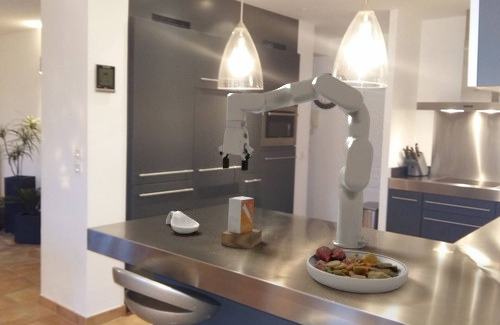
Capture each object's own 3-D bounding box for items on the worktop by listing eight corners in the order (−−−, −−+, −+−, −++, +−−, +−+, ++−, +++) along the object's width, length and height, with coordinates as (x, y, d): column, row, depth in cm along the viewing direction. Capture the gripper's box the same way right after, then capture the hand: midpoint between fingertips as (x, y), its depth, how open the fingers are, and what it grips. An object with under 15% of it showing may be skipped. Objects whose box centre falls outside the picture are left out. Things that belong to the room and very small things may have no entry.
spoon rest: (203, 234, 195) (203, 217, 194) (177, 237, 189) (177, 219, 188) (181, 223, 215) (182, 208, 215) (157, 225, 209) (157, 209, 209)
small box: (240, 234, 176) (241, 200, 175) (227, 231, 180) (228, 198, 179) (253, 231, 182) (254, 197, 181) (240, 228, 186) (241, 196, 185)
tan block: (261, 242, 185) (261, 230, 184) (250, 249, 173) (251, 236, 173) (233, 239, 189) (233, 227, 188) (221, 246, 178) (221, 233, 177)
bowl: (423, 280, 143) (425, 255, 143) (378, 306, 121) (380, 276, 120) (338, 259, 163) (339, 237, 163) (286, 278, 141) (287, 253, 140)
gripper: (259, 126, 178) (258, 170, 180) (225, 125, 189) (225, 167, 190) (247, 125, 172) (246, 171, 174) (213, 124, 183) (212, 168, 185)
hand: (235, 169), depth 182 cm, fingers open, 9 cm apart
